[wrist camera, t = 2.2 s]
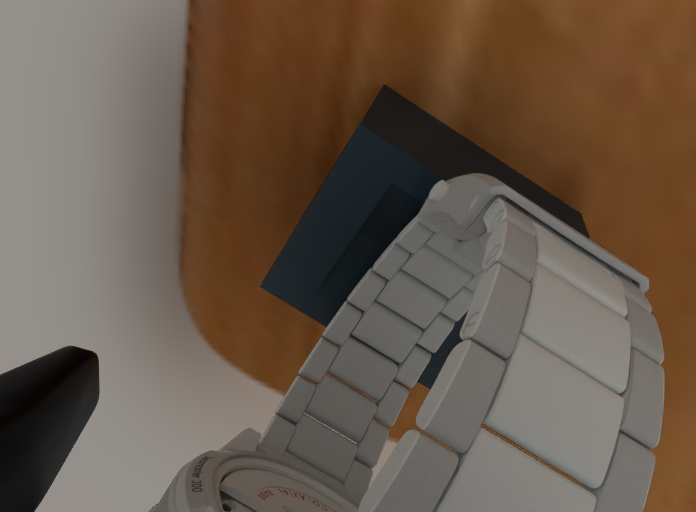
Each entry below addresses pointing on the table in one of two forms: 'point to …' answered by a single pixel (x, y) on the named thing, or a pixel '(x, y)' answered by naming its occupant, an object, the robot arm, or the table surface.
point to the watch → (448, 345)
